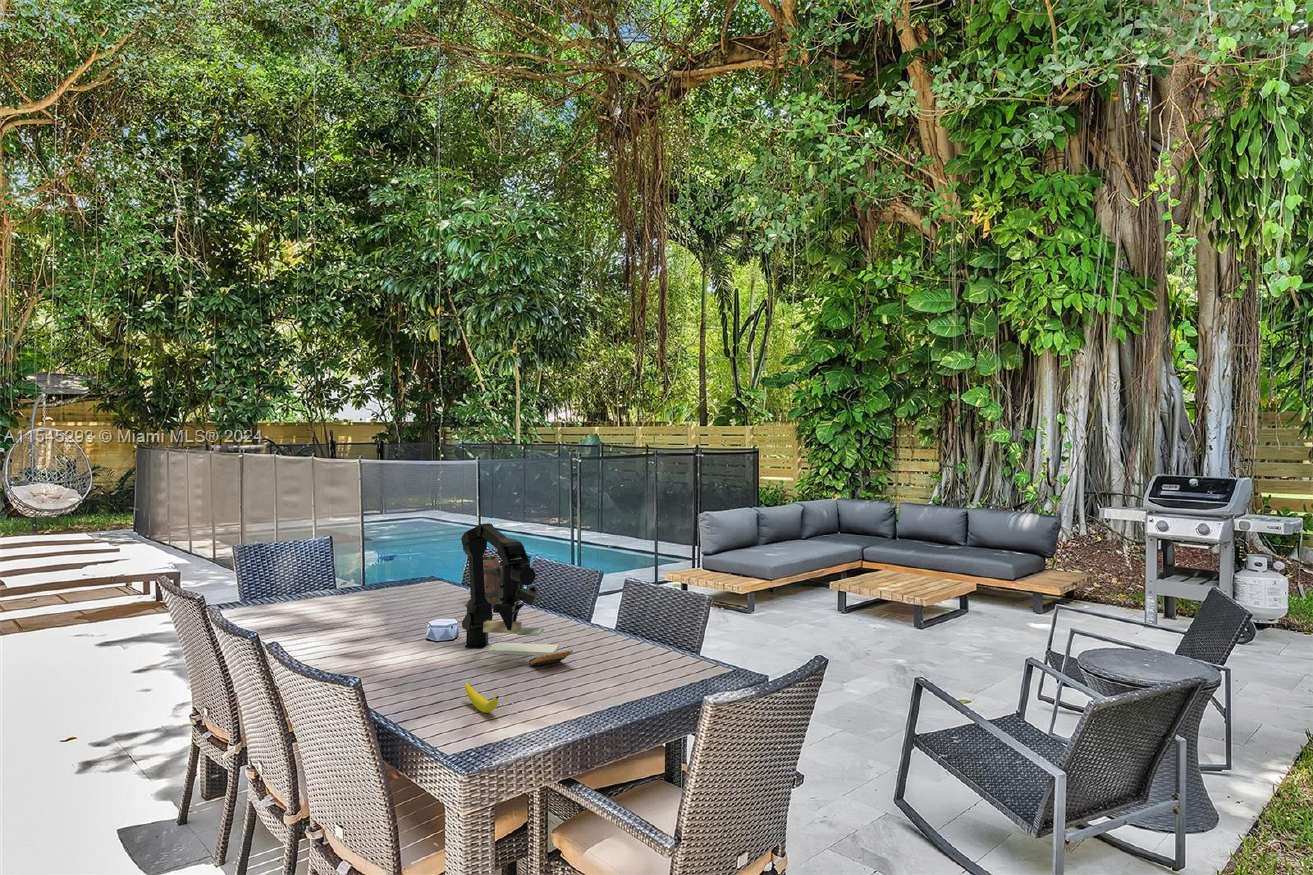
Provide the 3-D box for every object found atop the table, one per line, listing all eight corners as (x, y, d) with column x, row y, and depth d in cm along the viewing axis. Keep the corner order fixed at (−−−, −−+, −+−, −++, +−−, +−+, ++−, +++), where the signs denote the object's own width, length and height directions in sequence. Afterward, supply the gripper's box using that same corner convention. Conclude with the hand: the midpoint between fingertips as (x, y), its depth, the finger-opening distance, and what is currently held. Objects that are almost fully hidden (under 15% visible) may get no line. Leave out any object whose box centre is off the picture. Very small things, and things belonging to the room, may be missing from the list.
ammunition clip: (529, 666, 242) (545, 658, 233) (528, 660, 243) (543, 652, 234) (559, 661, 248) (576, 653, 239) (558, 655, 249) (574, 647, 240)
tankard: (457, 605, 324) (457, 558, 324) (489, 598, 337) (489, 553, 337) (491, 614, 309) (492, 564, 309) (524, 606, 322) (524, 559, 322)
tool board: (488, 653, 256) (488, 650, 256) (496, 645, 265) (496, 642, 265) (552, 656, 253) (552, 652, 253) (559, 648, 262) (559, 644, 262)
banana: (470, 699, 213) (470, 676, 213) (503, 719, 198) (503, 695, 198) (460, 701, 211) (460, 678, 211) (492, 722, 196) (492, 697, 196)
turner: (481, 633, 245) (481, 624, 245) (488, 628, 251) (488, 619, 251) (538, 636, 242) (538, 626, 242) (544, 631, 248) (544, 621, 248)
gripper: (527, 587, 236) (527, 637, 237) (543, 575, 255) (543, 622, 255) (492, 586, 238) (492, 636, 238) (510, 574, 256) (510, 621, 256)
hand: (511, 628), depth 247 cm, fingers closed on turner, 3 cm apart
